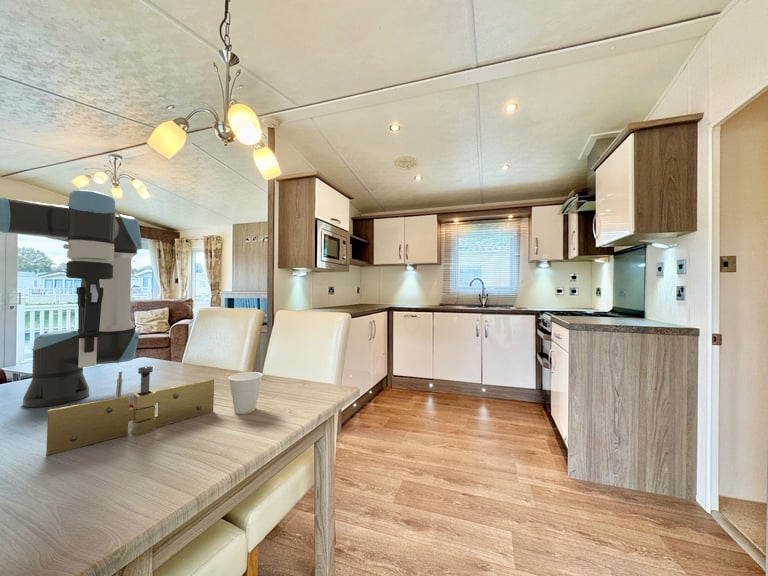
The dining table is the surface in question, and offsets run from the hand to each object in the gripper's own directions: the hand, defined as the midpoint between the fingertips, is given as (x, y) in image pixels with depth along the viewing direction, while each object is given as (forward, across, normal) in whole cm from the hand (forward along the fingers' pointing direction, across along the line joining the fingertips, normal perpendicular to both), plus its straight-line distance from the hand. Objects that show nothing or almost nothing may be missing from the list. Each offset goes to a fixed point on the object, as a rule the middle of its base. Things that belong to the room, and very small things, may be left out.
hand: (87, 366), depth 67 cm
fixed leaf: (+20, -5, +19) cm, 29 cm away
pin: (+15, -6, +12) cm, 20 cm away
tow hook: (+21, -26, +13) cm, 35 cm away
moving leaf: (+20, -6, +4) cm, 22 cm away
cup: (+21, +2, +36) cm, 41 cm away
